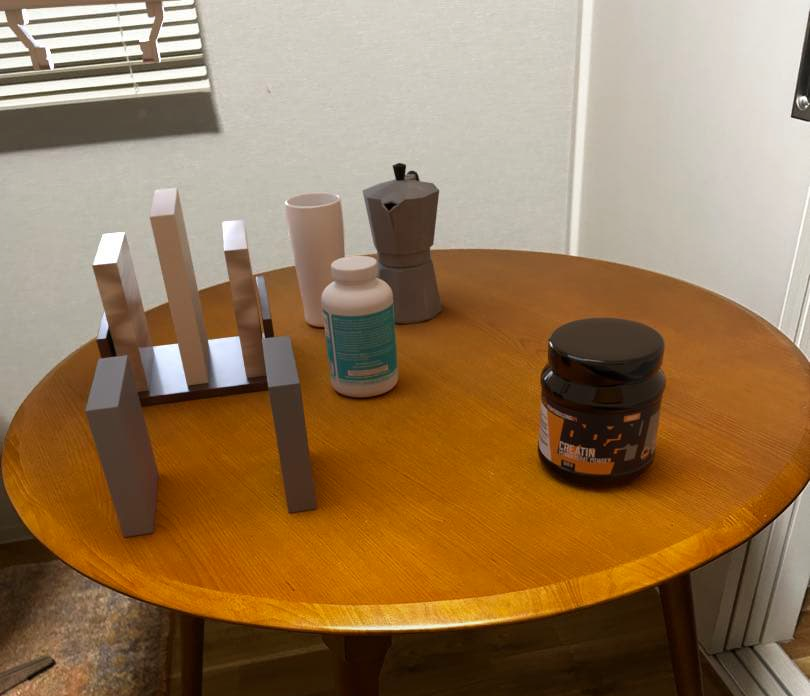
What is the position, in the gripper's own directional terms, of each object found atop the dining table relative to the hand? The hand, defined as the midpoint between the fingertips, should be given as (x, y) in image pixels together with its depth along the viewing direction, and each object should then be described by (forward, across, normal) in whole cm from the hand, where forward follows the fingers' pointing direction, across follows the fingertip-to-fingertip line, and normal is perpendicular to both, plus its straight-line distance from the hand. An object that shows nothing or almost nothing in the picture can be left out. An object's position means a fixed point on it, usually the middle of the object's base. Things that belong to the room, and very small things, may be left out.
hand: (98, 66), depth 76 cm
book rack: (+32, -3, -4) cm, 32 cm away
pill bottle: (+32, -21, +6) cm, 39 cm away
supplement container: (+32, -39, +28) cm, 57 cm away
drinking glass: (+32, -19, -14) cm, 40 cm away
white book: (+31, -3, -4) cm, 31 cm away
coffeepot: (+32, -30, -15) cm, 46 cm away
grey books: (+32, -5, +24) cm, 40 cm away
